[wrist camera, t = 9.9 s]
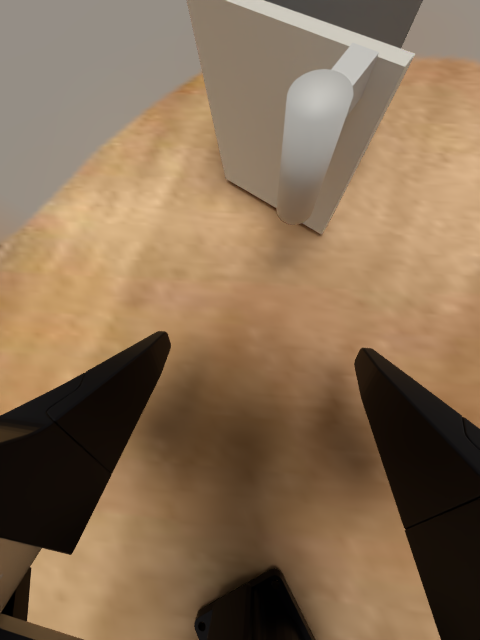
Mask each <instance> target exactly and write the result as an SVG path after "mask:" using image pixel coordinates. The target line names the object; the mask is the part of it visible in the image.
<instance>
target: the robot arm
mask: <svg viewBox="0 0 480 640" xmlns="http://www.w3.org/2000/svg"><path fill="white" fill-rule="evenodd" d="M170 348H171V343H170V340H169V337H168V334H167V332H164V331H158V332H156V333H154V334H152V335H150V336H149V337H147V338H145V339H143V340H141V341H140V342H138V343H136V344H134V345H133V346H131V347H129V348H127V349H125V350H124V351H122V352H120V353H118V354H117V355H115V356H113V357H111V358H109V359H108V360H106V361H104V362H102V363H101V364H99V365H97V366H95V367H93V368H92V369H90V370H88V371H86V373H83V374H81V375H79V376H77V377H76V378H74V379H72V380H70V381H68V382H66V383H65V384H63V385H61V386H59V387H57V388H55V389H53V390H51V391H49V392H47V393H45V394H43V395H41V396H39V397H37V398H35V399H33V400H31V401H29V402H27V403H25V404H23V405H21V406H19V407H17V408H15V409H13V410H11V411H9V412H7V413H5V414H3V415H1V416H0V640H83V639H80V638H77V637H74V636H71V635H67V634H64V633H61V632H58V631H55V630H52V629H49V628H45V627H42V626H39V625H36V624H33V623H30V622H27V614H28V602H29V590H30V577H31V567H30V566H31V564H32V563H33V561H34V560H35V558H36V557H37V555H38V553H39V552H40V550H41V549H42V548H45V549H49V550H53V551H57V552H61V553H65V554H69V555H71V554H72V553H73V551H74V549H75V547H76V545H77V544H78V541H79V539H80V537H81V535H82V533H83V531H84V529H85V527H86V525H87V523H88V521H89V519H90V517H91V515H92V513H93V511H94V509H95V507H96V505H97V503H98V501H99V499H100V497H101V495H102V493H103V491H104V489H105V487H106V485H107V483H108V481H109V479H110V477H111V474H112V473H113V470H114V468H115V466H116V464H117V462H118V460H119V458H120V456H121V454H122V452H123V450H124V448H125V446H126V444H127V442H128V440H129V438H130V436H131V434H132V432H133V430H134V428H135V426H136V424H137V422H138V420H139V418H140V416H141V414H142V412H143V410H144V408H145V406H146V404H147V402H148V400H149V398H150V396H151V394H152V392H153V390H154V388H155V386H156V384H157V382H158V380H159V377H160V375H161V373H162V370H163V368H164V365H165V362H166V359H167V357H168V354H169V351H170ZM354 365H355V371H356V375H357V380H358V385H359V390H360V395H361V399H362V402H363V405H364V408H365V411H366V414H367V417H368V420H369V423H370V426H371V429H372V432H373V435H374V438H375V441H376V444H377V447H378V451H379V454H380V457H381V460H382V463H383V466H384V469H385V472H386V475H387V478H388V481H389V484H390V487H391V490H392V493H393V496H394V499H395V502H396V505H397V508H398V511H399V514H400V517H401V520H402V523H403V526H404V528H405V529H406V530H405V533H406V536H407V539H408V542H409V545H410V548H411V551H412V554H413V557H414V560H415V563H416V566H417V569H418V572H419V575H420V578H421V581H422V584H423V587H424V590H425V593H426V596H427V599H428V602H429V605H430V608H431V611H432V614H433V617H434V620H435V623H436V626H437V629H438V632H439V635H440V638H441V640H480V429H479V428H478V427H477V426H475V425H474V424H473V423H471V422H470V421H469V420H467V419H466V418H464V417H462V415H460V414H459V413H458V412H456V411H455V410H454V409H452V408H451V407H450V406H448V405H447V404H446V403H444V402H443V401H442V400H440V399H439V398H438V397H436V396H435V395H434V394H432V393H431V392H430V391H428V390H427V389H426V388H424V387H423V386H422V385H420V384H419V383H418V382H416V381H415V380H414V379H412V378H411V377H410V376H408V375H407V374H406V373H404V372H403V371H402V370H400V369H399V368H398V367H396V366H395V365H394V364H392V363H391V362H390V361H388V360H387V359H385V358H384V357H383V356H381V355H380V354H379V353H377V352H376V351H375V350H373V349H371V348H361V349H360V351H359V353H358V355H357V357H356V359H355V363H354ZM273 580H278V582H274V581H273ZM203 622H204V623H203ZM194 627H195V631H196V633H197V636H198V638H199V640H315V639H314V637H313V635H312V633H311V631H310V629H309V627H308V625H307V623H306V621H305V619H304V617H303V615H302V613H301V611H300V609H299V607H298V605H297V603H296V601H295V599H294V597H293V595H292V593H291V591H290V589H289V587H288V585H287V583H286V581H285V579H284V577H283V575H282V573H281V572H280V571H279V570H278V569H275V568H274V569H271V570H269V571H267V572H265V573H264V574H262V575H260V576H258V577H257V578H255V579H253V580H251V581H250V582H248V583H246V584H244V585H243V586H241V587H239V588H237V589H236V590H234V591H232V592H230V593H229V594H227V595H225V596H223V597H222V598H220V599H218V600H216V601H215V602H213V603H211V604H209V605H208V606H206V607H204V608H202V609H201V610H199V611H198V613H197V616H196V620H195V626H194Z"/></svg>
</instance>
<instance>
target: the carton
mask: <svg viewBox="0 0 480 640" xmlns="http://www.w3.org/2000/svg"><path fill="white" fill-rule="evenodd" d="M264 1H267V2H270V3H273V4H276V5H279V6H281V7H284V8H287V9H290V10H293V11H296V12H298V13H301V14H304V15H307V16H310V17H313V18H315V19H318V20H321V21H324V22H327V23H330V24H332V25H335V26H338V27H341V28H344V29H347V30H349V31H352V32H355V33H358V34H361V35H364V36H366V37H369V38H372V39H375V40H378V41H381V42H383V43H386V44H389V45H392V46H395V47H398V48H400V49H401V47H402V45H403V43H404V40H405V38H406V36H407V34H408V32H409V30H410V27H411V25H412V23H413V21H414V18H415V16H416V14H417V12H418V10H419V8H420V5H421V3H422V1H423V0H264Z"/></svg>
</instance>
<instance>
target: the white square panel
mask: <svg viewBox="0 0 480 640" xmlns="http://www.w3.org/2000/svg"><path fill="white" fill-rule="evenodd" d="M187 4H188V8H189V13H190V18H191V22H192V27H193V31H194V36H195V41H196V45H197V50H198V54H199V59H200V64H201V68H202V73H203V77H204V82H205V87H206V91H207V96H208V100H209V105H210V109H211V114H212V119H213V123H214V128H215V132H216V137H217V141H218V146H219V151H220V155H221V160H222V164H223V169H224V174H225V178H226V179H227V180H229V181H231V182H232V183H234V184H236V185H238V186H239V187H241V188H243V189H244V190H246V191H248V192H250V193H251V194H253V195H255V196H256V197H258V198H260V199H262V200H263V201H265V202H267V203H268V204H270V205H272V206H273V207H275V208H277V214H278V216H279V218H280V219H281V220H282V221H283V222H285V223H287V224H292V225H296V224H301V223H303V224H304V225H306V226H308V227H309V228H311V229H313V230H315V231H316V232H318V233H320V234H322V233H323V232H324V230H325V229H326V227H327V225H328V223H329V221H330V220H331V218H332V216H333V214H334V212H335V210H336V208H337V206H338V204H339V202H340V200H341V198H342V196H343V194H344V192H345V190H346V188H347V186H348V184H349V182H350V180H351V178H352V177H353V175H354V173H355V171H356V169H357V167H358V165H359V163H360V161H361V159H362V157H363V155H364V153H365V151H366V149H367V147H368V145H369V143H370V141H371V139H372V137H373V135H374V134H375V132H376V130H377V128H378V126H379V124H380V122H381V120H382V118H383V116H384V114H385V112H386V110H387V108H388V106H389V104H390V102H391V100H392V98H393V96H394V94H395V92H396V91H397V89H398V87H399V85H400V83H401V81H402V79H403V77H404V75H405V73H406V71H407V69H408V67H409V65H410V63H411V61H412V59H413V57H414V55H415V53H412V52H409V51H406V50H403V49H400V48H398V47H395V46H392V45H389V44H386V43H383V42H381V41H378V40H375V39H372V38H369V37H366V36H364V35H361V34H358V33H355V32H352V31H349V30H347V29H344V28H341V27H338V26H335V25H332V24H330V23H327V22H324V21H321V20H318V19H315V18H313V17H310V16H307V15H304V14H301V13H298V12H296V11H293V10H290V9H287V8H284V7H281V6H279V5H276V4H273V3H270V2H267V1H264V0H187Z"/></svg>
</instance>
